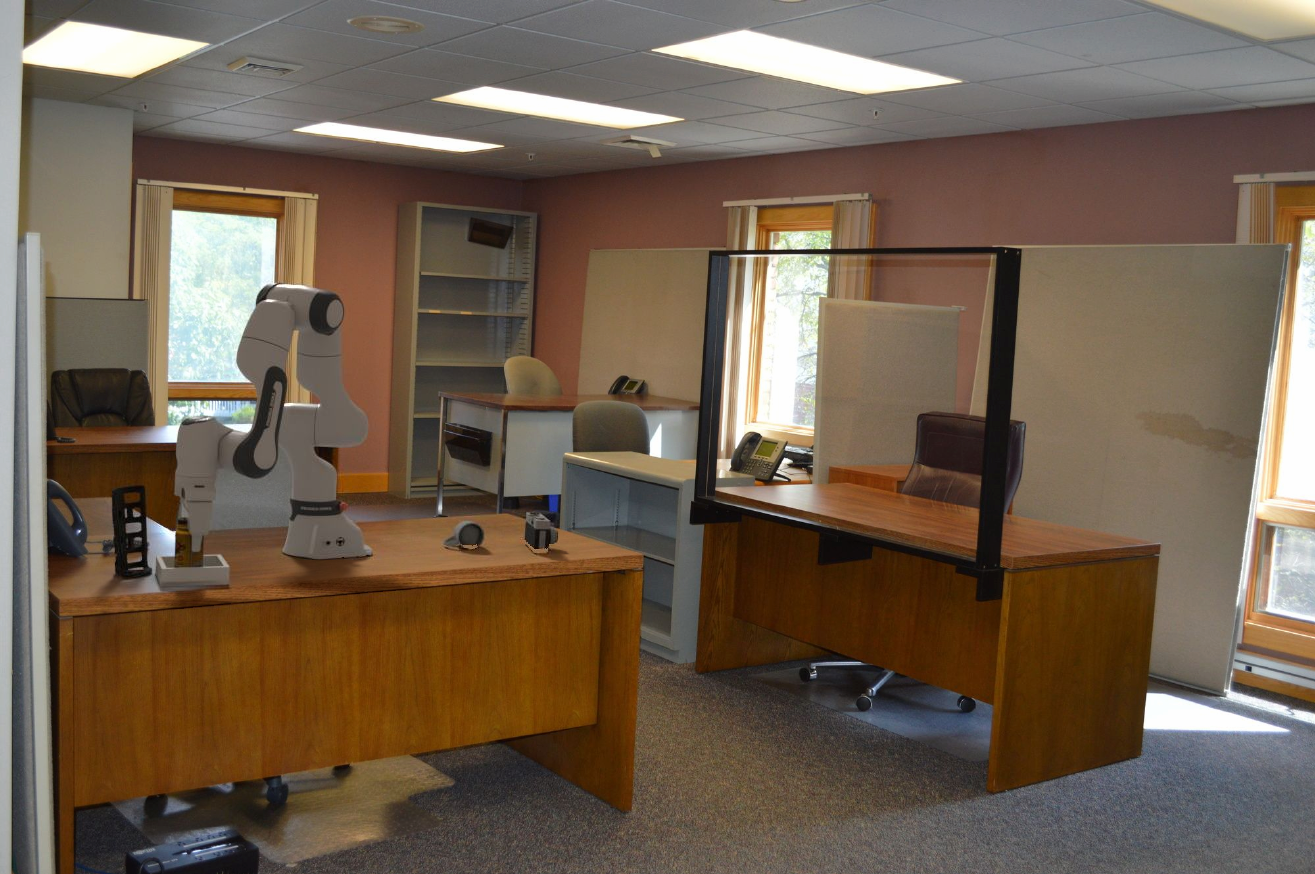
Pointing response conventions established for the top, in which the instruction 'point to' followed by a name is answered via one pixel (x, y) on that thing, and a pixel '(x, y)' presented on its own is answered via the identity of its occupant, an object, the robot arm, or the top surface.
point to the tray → (192, 572)
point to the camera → (539, 531)
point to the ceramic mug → (466, 534)
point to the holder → (122, 536)
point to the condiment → (186, 547)
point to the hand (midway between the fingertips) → (193, 547)
